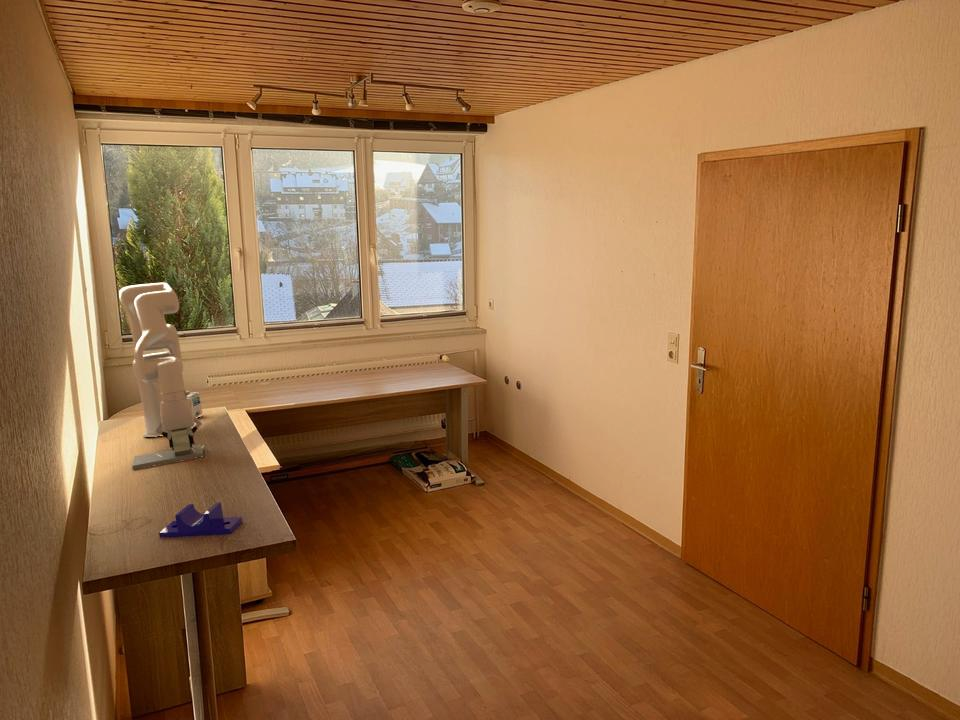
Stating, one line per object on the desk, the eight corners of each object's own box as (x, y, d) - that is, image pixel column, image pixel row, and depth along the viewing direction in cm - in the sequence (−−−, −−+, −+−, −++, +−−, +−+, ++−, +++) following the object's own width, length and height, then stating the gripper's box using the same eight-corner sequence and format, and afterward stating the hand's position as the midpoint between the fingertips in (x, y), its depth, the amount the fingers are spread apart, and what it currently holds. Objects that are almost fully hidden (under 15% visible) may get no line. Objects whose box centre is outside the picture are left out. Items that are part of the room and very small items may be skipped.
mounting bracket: (160, 539, 175) (156, 516, 173) (174, 527, 182) (170, 505, 181) (231, 535, 173) (227, 512, 172) (242, 523, 180) (239, 501, 179)
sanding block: (175, 449, 248) (171, 427, 246) (190, 447, 250) (187, 425, 248) (175, 456, 240) (171, 433, 238) (190, 453, 241) (187, 431, 240)
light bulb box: (203, 416, 304) (199, 391, 302) (195, 420, 297) (191, 395, 295) (180, 417, 305) (175, 393, 303) (171, 421, 298) (167, 396, 297)
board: (135, 460, 245) (134, 456, 244) (204, 448, 253) (204, 443, 252) (132, 470, 234) (132, 465, 233) (205, 456, 242) (205, 452, 241)
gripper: (200, 390, 248) (208, 440, 251) (147, 398, 241) (156, 449, 245) (200, 394, 241) (209, 445, 244) (146, 402, 235) (155, 455, 238)
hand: (182, 447), depth 244 cm, fingers closed on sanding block, 5 cm apart
